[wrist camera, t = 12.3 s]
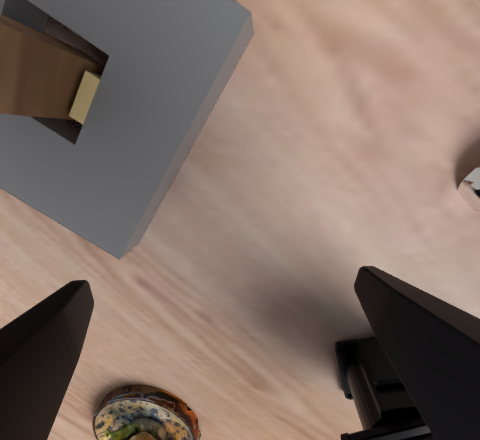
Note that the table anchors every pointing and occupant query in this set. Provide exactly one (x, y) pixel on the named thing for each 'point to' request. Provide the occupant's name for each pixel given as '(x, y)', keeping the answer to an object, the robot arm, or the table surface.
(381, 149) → the table surface
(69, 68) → the walnut peg
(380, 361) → the robot arm
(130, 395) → the plate of food
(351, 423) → the table surface
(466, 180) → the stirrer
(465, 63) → the table surface
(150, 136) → the hub plate
